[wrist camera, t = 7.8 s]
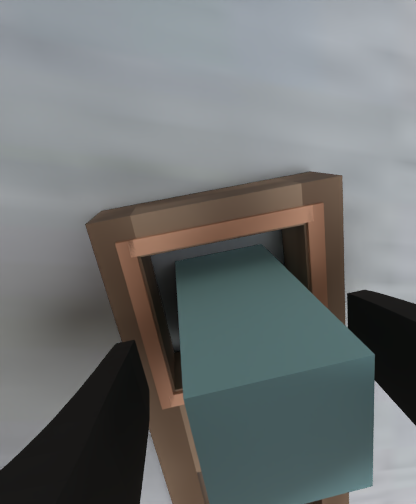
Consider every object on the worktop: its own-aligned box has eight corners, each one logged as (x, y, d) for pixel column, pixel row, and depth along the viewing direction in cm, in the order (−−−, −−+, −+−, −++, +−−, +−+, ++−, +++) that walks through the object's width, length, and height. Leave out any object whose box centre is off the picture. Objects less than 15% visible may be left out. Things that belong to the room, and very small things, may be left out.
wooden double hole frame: (191, 520, 19) (194, 576, 16) (101, 210, 12) (84, 225, 10) (327, 485, 19) (350, 534, 17) (310, 171, 13) (344, 175, 10)
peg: (191, 336, 15) (215, 527, 7) (175, 261, 13) (183, 399, 6) (269, 318, 15) (372, 485, 7) (261, 244, 14) (375, 354, 6)
